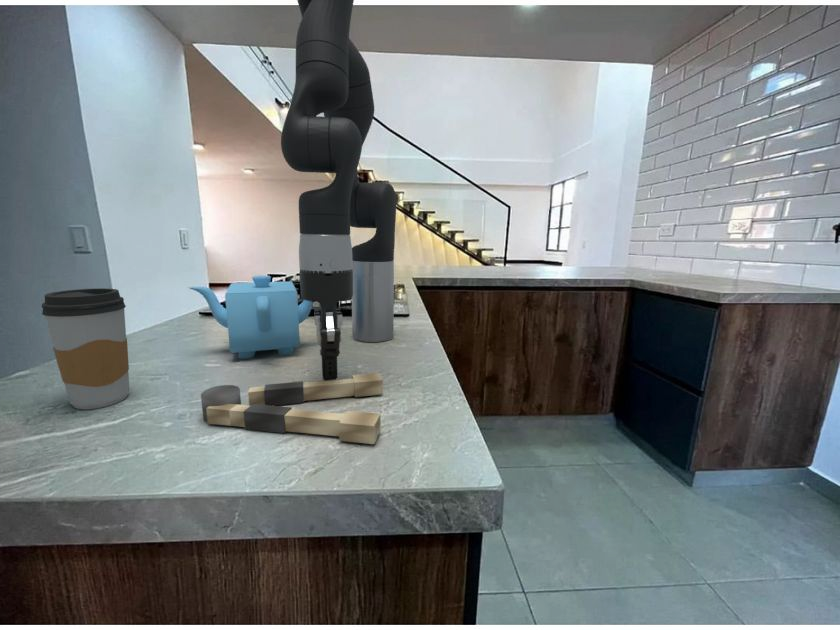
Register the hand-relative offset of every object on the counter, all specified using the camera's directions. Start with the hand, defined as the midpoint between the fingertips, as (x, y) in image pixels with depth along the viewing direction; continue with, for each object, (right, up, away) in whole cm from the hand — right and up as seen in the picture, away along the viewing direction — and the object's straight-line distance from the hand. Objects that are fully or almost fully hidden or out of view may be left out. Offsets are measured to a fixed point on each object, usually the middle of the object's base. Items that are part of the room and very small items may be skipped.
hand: (330, 378), depth 59 cm
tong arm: (-1, -2, -5) cm, 5 cm away
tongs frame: (-2, -4, -12) cm, 13 cm away
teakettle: (-17, +3, +18) cm, 25 cm away
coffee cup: (-30, -2, -6) cm, 31 cm away
